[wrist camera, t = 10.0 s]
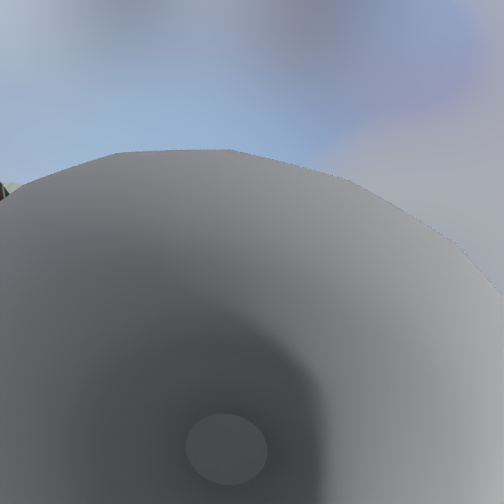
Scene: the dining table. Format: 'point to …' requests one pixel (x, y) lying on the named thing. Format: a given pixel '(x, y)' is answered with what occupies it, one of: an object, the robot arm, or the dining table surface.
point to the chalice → (240, 341)
